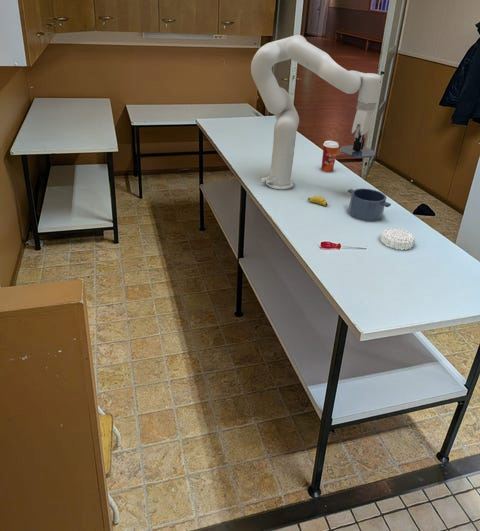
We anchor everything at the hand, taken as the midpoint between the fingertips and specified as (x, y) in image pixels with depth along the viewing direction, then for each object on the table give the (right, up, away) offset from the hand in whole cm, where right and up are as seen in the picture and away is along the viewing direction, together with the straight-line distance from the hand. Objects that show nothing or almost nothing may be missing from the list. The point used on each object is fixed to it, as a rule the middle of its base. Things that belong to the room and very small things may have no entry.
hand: (357, 149), depth 212 cm
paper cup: (-7, -2, +36) cm, 37 cm away
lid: (0, -1, +1) cm, 1 cm away
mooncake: (+8, -41, -27) cm, 50 cm away
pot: (+1, -28, -7) cm, 29 cm away
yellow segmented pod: (-17, -23, -1) cm, 29 cm away
